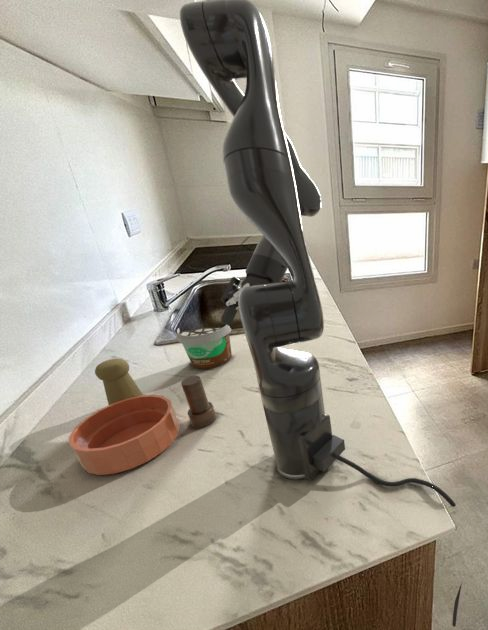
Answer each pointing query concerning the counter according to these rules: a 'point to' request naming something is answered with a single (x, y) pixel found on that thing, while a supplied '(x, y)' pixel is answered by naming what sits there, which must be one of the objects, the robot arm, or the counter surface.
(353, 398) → the counter surface
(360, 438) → the counter surface
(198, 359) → the food container
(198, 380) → the pestle
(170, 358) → the counter surface
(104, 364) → the olive knobbed tapered cylinder
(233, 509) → the counter surface
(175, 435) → the bowl
